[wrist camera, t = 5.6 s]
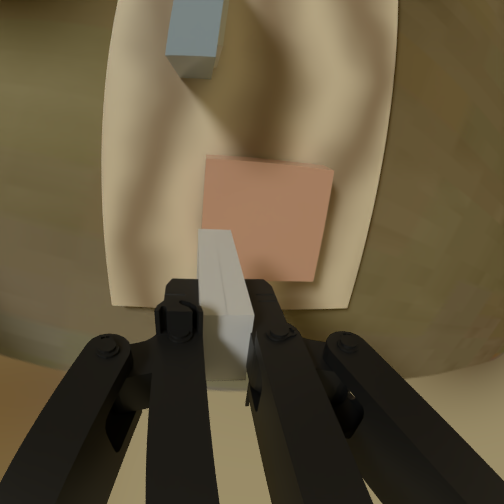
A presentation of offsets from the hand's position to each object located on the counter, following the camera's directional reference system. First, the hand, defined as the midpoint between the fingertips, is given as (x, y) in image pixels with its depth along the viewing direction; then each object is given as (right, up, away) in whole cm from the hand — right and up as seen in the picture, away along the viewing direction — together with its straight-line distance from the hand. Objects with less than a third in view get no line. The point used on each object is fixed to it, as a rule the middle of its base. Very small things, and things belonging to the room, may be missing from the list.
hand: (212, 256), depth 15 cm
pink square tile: (-1, +2, +5) cm, 6 cm away
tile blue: (-1, +15, +1) cm, 15 cm away
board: (+2, +10, +5) cm, 11 cm away
